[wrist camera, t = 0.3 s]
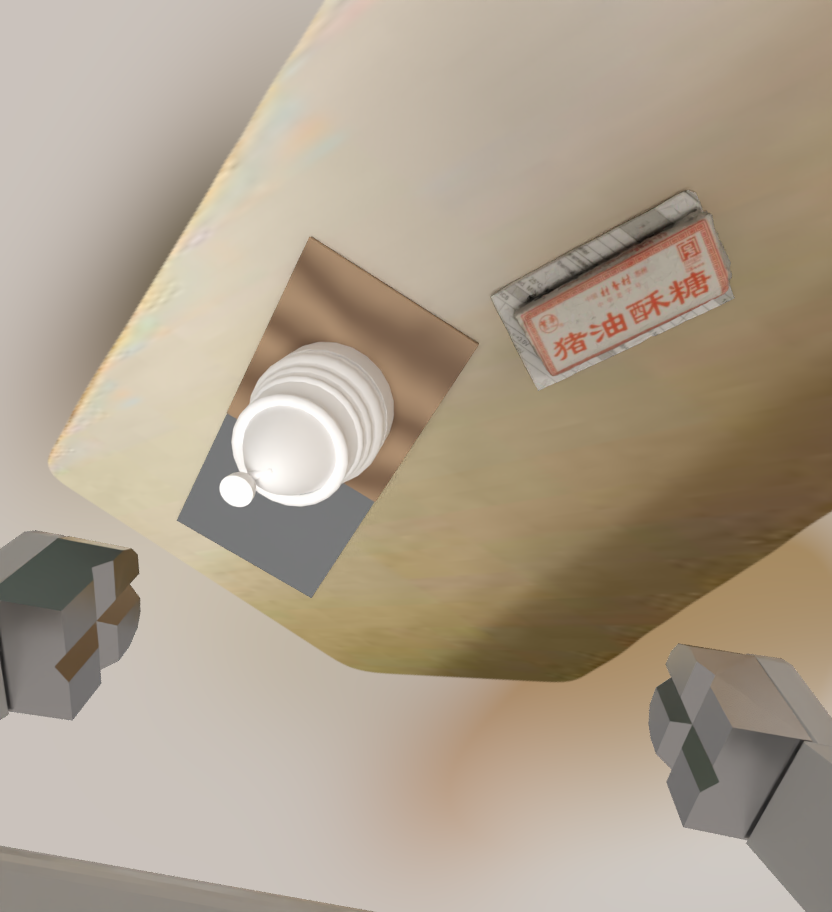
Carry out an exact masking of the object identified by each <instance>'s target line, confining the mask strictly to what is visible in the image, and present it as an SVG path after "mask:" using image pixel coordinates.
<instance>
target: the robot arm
mask: <svg viewBox="0 0 832 912" xmlns="http://www.w3.org/2000/svg"><path fill="white" fill-rule="evenodd" d="M138 574H139V565H138V555H137V554H136V552H135V551H133V549H131V548H127V547H122V546H117V545H111V544H106V543H101V542H96V541H91V540H86V539H81V538H76V537H70V536H67V537H66V536H64V535H59V534H53V533H47V532H42V531H36V530H35V531H27V532H24V533H22V534H21V535H19V536H18V537H16V538H15V539H13V540H12V541H11V542H9V543H8V544H7V545H5V546H4V547H2V548H1V549H0V720H1V719H2V718H4V717H6V716H7V715H8V714H9V712H8V711H10V712H17V713H25V714H32V715H38V716H45V717H52V718H60V719H66V720H73V719H74V718H75V716H76V715H77V714H78V712H79V711H80V710H81V709H82V707H83V706H84V705H85V704H86V702H87V701H88V700H89V698H90V697H91V696H92V694H93V693H94V692H95V691H96V690H97V688H98V687H99V686H100V684H101V673H100V670H101V669H103V668H105V667H107V666H109V665H111V664H113V663H115V662H117V661H119V660H120V658H121V657H122V656H123V654H124V653H125V652H126V650H127V649H128V648H129V646H130V644H131V642H132V639H133V637H134V635H135V632H136V630H137V628H138V622H139V616H140V597H139V596H138V595H137V594H136V592H135V591H134V589H133V588H132V587H131V585H130V583H131V582H132V581H133V580H134V579H135V577H136V576H137V575H138ZM666 666H667V669H668V671H669V673H670V676H671V678H670V679H668V680H667V681H665V682H664V683H662V684H661V685H659V686H658V687H656V689H655V692H654V695H653V698H652V700H651V703H650V710H649V730H650V736H651V741H652V743H653V746H654V749H655V752H656V754H657V755H658V756H659V757H660V758H661V759H662V760H663V761H664V762H665V763H666V764H667V765H668V766H669V767H670V768H671V769H672V770H671V773H670V775H669V778H668V780H667V785H668V788H669V790H670V793H671V796H672V798H673V801H674V804H675V806H676V809H677V811H678V814H679V817H680V820H681V822H682V825H683V827H685V828H691V829H695V830H700V831H705V832H710V833H715V834H720V835H725V836H729V837H734V838H739V839H744V840H748V841H747V845H748V846H749V847H750V848H751V849H752V850H753V852H754V853H755V854H756V855H757V856H758V857H759V859H760V860H761V861H762V862H763V863H764V864H765V865H766V866H767V868H768V869H769V870H770V871H771V872H772V873H773V875H774V876H775V877H776V878H777V879H778V880H779V882H780V883H781V884H782V885H783V886H784V887H785V888H786V890H787V891H788V892H789V893H790V894H791V895H792V896H793V898H794V899H795V900H796V901H797V902H798V903H799V904H800V906H801V907H802V908H803V909H804V910H805V911H806V912H832V718H831V716H830V715H829V714H828V712H827V711H826V710H825V708H824V707H823V706H822V704H821V703H820V702H819V700H818V699H817V698H816V696H815V695H814V694H813V692H812V691H811V690H810V688H809V687H808V686H807V684H806V683H805V682H804V680H803V679H802V678H801V676H800V675H799V674H798V672H797V671H796V670H795V668H794V667H793V666H792V665H791V664H789V663H788V662H786V661H785V660H783V659H781V658H775V657H768V656H761V655H754V654H740V653H734V652H728V651H722V650H716V649H709V648H703V647H697V646H691V645H685V644H677V646H676V647H675V648H674V649H673V650H672V651H671V653H670V655H669V658H668V660H667V662H666ZM0 912H373V911H367V910H362V909H356V908H350V907H344V906H339V905H334V904H328V903H322V902H317V901H311V900H305V899H299V898H294V897H288V896H282V895H277V894H271V893H266V892H260V891H254V890H249V889H243V888H237V887H232V886H226V885H221V884H215V883H209V882H204V881H198V880H192V879H187V878H180V877H175V876H170V875H164V874H158V873H153V872H147V871H141V870H135V869H130V868H124V867H118V866H113V865H107V864H102V863H95V862H90V861H84V860H79V859H73V858H67V857H62V856H56V855H50V854H45V853H39V852H32V851H27V850H22V849H16V848H11V847H5V846H0Z"/></svg>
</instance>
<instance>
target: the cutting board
mask: <svg viewBox="0 0 832 912" xmlns="http://www.w3.org/2000/svg"><path fill="white" fill-rule="evenodd" d="M317 342H335V343H339V344H342V345H345V346H349V347H352V348H354V349H356V350H357V351H359V352H360V353H362V354H364V355H365V356H367V357H368V358H369V359H370V360H371V361H372V362H373V363H374V364H375V365H376V366H377V367H378V368H379V369H380V370H381V372H382V374H383V375H384V377H385V379H386V380H387V382H388V384H389V387H390V390H391V394H392V397H393V401H394V418H393V422H392V426H391V429H390V433H389V434H388V436H387V438H386V440H385V441H384V443H383V445H382V447H381V448H380V450H379V452H378V454H377V455H376V457H375V459H374V460H373V462H372V463H371V465H370V466H368V467H367V468H366V469H365V470H364V471H363V472H362V473H361V474H360V475H358V476H357V477H355V478H353V479H351V480H348V481H346V482H344V484H346V485H348V486H349V487H351V488H353V489H354V490H356V491H358V492H359V493H361V494H363V495H364V496H366V497H368V498H369V499H371V500H373V501H374V502H375V501H376V500H377V498H378V497H379V495H380V494H381V492H382V491H383V489H384V488H385V486H386V485H387V483H388V482H389V480H390V479H391V477H392V476H393V474H394V473H395V471H396V469H397V468H398V466H399V465H400V463H401V462H402V460H403V459H404V457H405V456H406V454H407V453H408V451H409V450H410V448H411V447H412V445H413V444H414V442H415V441H416V439H417V438H418V436H419V435H420V433H421V431H422V430H423V428H424V427H425V425H426V424H427V422H428V421H429V419H430V418H431V416H432V415H433V413H434V412H435V410H436V409H437V407H438V406H439V404H440V403H441V401H442V400H443V398H444V397H445V395H446V393H447V392H448V390H449V389H450V387H451V386H452V384H453V383H454V381H455V380H456V378H457V377H458V375H459V374H460V372H461V371H462V369H463V368H464V366H465V365H466V363H467V362H468V360H469V358H470V357H471V355H472V354H473V352H474V351H475V349H476V348H477V346H478V344H479V343H477V342H475V341H474V340H472V339H471V338H469V337H468V336H466V335H465V334H463V333H461V332H460V331H458V330H457V329H455V328H454V327H452V326H450V325H449V324H447V323H446V322H444V321H443V320H441V319H439V318H438V317H436V316H435V315H433V314H432V313H430V312H429V311H427V310H425V309H424V308H422V307H421V306H419V305H418V304H416V303H414V302H413V301H411V300H410V299H408V298H407V297H405V296H403V295H402V294H400V293H399V292H397V291H396V290H394V289H393V288H391V287H389V286H388V285H386V284H385V283H383V282H382V281H380V280H378V279H377V278H375V277H374V276H372V275H371V274H369V273H368V272H366V271H364V270H363V269H361V268H360V267H358V266H357V265H355V264H353V263H352V262H350V261H349V260H347V259H346V258H344V257H342V256H341V255H339V254H338V253H336V252H335V251H333V250H332V249H330V248H328V247H327V246H325V245H324V244H322V243H321V242H319V241H317V240H316V239H314V238H313V237H309V239H308V241H307V243H306V245H305V247H304V250H303V252H302V254H301V256H300V258H299V260H298V262H297V264H296V267H295V269H294V271H293V273H292V275H291V277H290V279H289V281H288V284H287V286H286V288H285V290H284V292H283V294H282V296H281V299H280V301H279V303H278V305H277V307H276V309H275V311H274V313H273V316H272V318H271V320H270V322H269V324H268V326H267V328H266V330H265V333H264V335H263V337H262V339H261V341H260V343H259V345H258V347H257V350H256V352H255V354H254V356H253V358H252V360H251V362H250V365H249V367H248V369H247V371H246V373H245V375H244V377H243V379H242V382H241V384H240V386H239V388H238V390H237V392H236V394H235V396H234V399H233V401H232V403H231V405H230V407H229V409H228V411H227V413H228V414H229V415H231V416H233V417H234V418H236V419H238V417H239V415H240V414H241V413H242V411H243V410H244V409H245V408H246V407H247V406H248V405H249V403H250V398H251V394H252V392H253V390H254V388H255V386H256V384H257V381H258V380H259V378H260V377H261V376H262V375H263V374H264V373H265V372H266V371H267V369H268V368H269V367H270V366H272V365H273V364H275V363H276V362H278V361H279V360H281V359H282V358H284V357H285V356H287V355H288V354H290V353H292V352H293V351H295V350H297V349H298V348H300V347H302V346H304V345H308V344H312V343H317Z"/></svg>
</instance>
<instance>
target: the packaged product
mask: <svg viewBox="0 0 832 912" xmlns="http://www.w3.org/2000/svg"><path fill="white" fill-rule="evenodd" d="M730 263H731V262H730V260H729V258H728V256H727V254H726V251H725V249H724V247H723V245H722V243H721V241H720V240H719V238H718V233H717V232H716V231H715V228H714V223H713V217H712V215H711V214H710V213H708V212H707V211H705V212H703V209H702V206H701V204H700V201H699V199H698V196H697V194H696V192H693V191H690V190H687V191H684V192H682V193H680V194H677V195H675V196H673V197H672V198H670V199H668V200H667V201H665V202H663V203H662V204H660V205H658V206H657V207H655V208H653V209H652V210H650V211H648V212H646V213H644V214H642V215H640V216H638V217H636V218H634V219H632V220H630V221H628V222H626V223H624V224H622V225H620V226H618V227H616V228H614V229H612V230H611V231H609V232H607V233H605V234H603V235H601V236H599V237H597V238H595V239H593V240H591V241H589V242H587V243H585V244H583V245H581V246H579V247H577V248H575V249H574V250H572V251H570V252H568V253H566V254H564V255H562V256H560V257H559V258H557V259H555V260H553V261H551V262H549V263H547V264H546V265H544V266H542V267H540V268H538V269H536V270H535V271H533V272H531V273H529V274H527V275H525V276H524V277H522V278H520V279H518V280H516V281H514V282H513V283H511V284H509V285H507V286H506V287H504V288H503V289H502V290H500V291H499V292H497V293H496V294H494V295H493V296H491V299H492V301H493V303H494V305H495V307H496V310H497V312H498V314H499V315H500V317H501V319H502V321H503V323H504V325H505V327H506V329H507V331H508V333H509V335H510V337H511V339H512V341H513V343H514V346H515V348H516V350H517V352H518V354H519V355H520V357H521V359H522V361H523V363H524V365H525V367H526V369H527V371H528V373H529V375H530V376H531V378H532V380H533V382H534V384H535V386H536V387H537V389H538V391H539V390H541V389H543V388H545V387H547V386H549V385H551V384H554V383H557V382H559V381H561V380H563V379H565V378H567V377H569V376H571V375H573V374H574V373H577V372H579V371H581V370H583V369H586V368H588V367H590V366H592V365H594V364H596V363H599V362H601V361H603V360H605V359H607V358H609V357H612V356H614V355H616V354H618V353H620V352H622V351H624V350H627V349H629V348H631V347H633V346H635V345H637V344H639V343H641V342H643V341H644V340H646V339H647V338H649V337H650V336H656V335H658V334H660V333H662V332H664V331H666V330H669V329H671V328H673V327H675V326H677V325H679V324H681V323H683V322H684V321H687V320H689V319H692V318H694V317H696V316H698V315H700V314H702V313H705V312H707V311H709V310H711V309H713V308H715V307H717V306H720V305H722V304H724V303H726V302H728V301H730V300H732V299H734V298H735V297H734V296H733V293H732V290H731V287H730V282H729V280H730V278H732V273H731V271H730Z"/></svg>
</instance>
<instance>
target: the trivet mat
mask: <svg viewBox="0 0 832 912" xmlns="http://www.w3.org/2000/svg"><path fill="white" fill-rule="evenodd" d="M236 421H237V419H236V418H234V417H233V416H231V415H229V414H228V413H227V415H226V417H225V419H224V421H223V423H222V426H221V428H220V430H219V432H218V434H217V436H216V438H215V440H214V443H213V445H212V447H211V449H210V451H209V453H208V455H207V457H206V460H205V462H204V464H203V466H202V468H201V470H200V472H199V475H198V477H197V479H196V481H195V483H194V485H193V487H192V489H191V492H190V494H189V496H188V498H187V500H186V502H185V504H184V506H183V509H182V511H181V513H180V515H179V517H178V519H177V521H179V522H181V523H182V524H184V525H186V526H187V527H189V528H191V529H193V530H194V531H196V532H198V533H200V534H201V535H203V536H205V537H207V538H208V539H210V540H212V541H213V542H215V543H217V544H219V545H220V546H222V547H224V548H226V549H227V550H229V551H231V552H233V553H234V554H236V555H238V556H239V557H241V558H243V559H245V560H246V561H248V562H250V563H252V564H253V565H255V566H257V567H259V568H260V569H262V570H264V571H265V572H267V573H269V574H271V575H272V576H274V577H276V578H278V579H279V580H281V581H283V582H285V583H286V584H288V585H290V586H291V587H293V588H295V589H297V590H298V591H300V592H302V593H304V594H305V595H307V596H309V597H311V598H312V596H313V595H314V593H315V592H316V590H317V588H318V587H319V585H320V584H321V582H322V581H323V579H324V578H325V576H326V575H327V573H328V572H329V570H330V569H331V567H332V566H333V564H334V563H335V561H336V560H337V558H338V557H339V555H340V553H341V552H342V550H343V549H344V547H345V546H346V544H347V543H348V541H349V540H350V538H351V537H352V535H353V534H354V532H355V531H356V529H357V528H358V526H359V525H360V523H361V522H362V520H363V518H364V517H365V515H366V514H367V512H368V511H369V509H370V508H371V506H372V505H373V503H374V501H373V500H371V499H369V498H368V497H366V496H364V495H363V494H361V493H359V492H358V491H356V490H354V489H353V488H351V487H349V486H348V485H346V484H344V483H342V484H341V485H340V487H339V489H338V490H336V491H335V492H334V493H333V494H332V495H331V496H330V497H329V498H327V499H325V500H323V501H321V502H319V503H317V504H313V505H308V506H302V507H300V506H287V505H284V504H281V503H277V502H274V501H272V500H270V499H268V498H266V497H265V496H263V495H261V494H260V493H258V492H257V491H256V493H255V496H254V498H253V499H252V501H251V502H250V503H249V504H248V505H247V506H244V507H235V506H232V505H230V504H229V503H227V502H226V501H225V500H224V499H223V497H222V496H221V493H220V483H221V481H222V480H223V479H224V478H225V477H226V476H228V475H230V474H232V473H236V472H240V471H239V469H238V467H237V464H236V462H235V459H234V457H233V450H232V443H231V441H232V434H233V428H234V425H235V423H236ZM310 493H312V492H310ZM304 494H306V493H304ZM300 495H301V494H300Z"/></svg>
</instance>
